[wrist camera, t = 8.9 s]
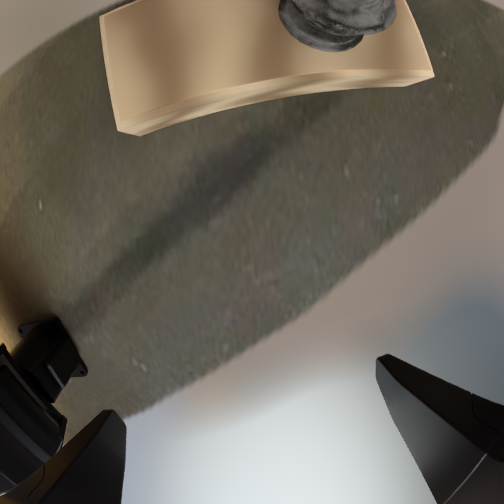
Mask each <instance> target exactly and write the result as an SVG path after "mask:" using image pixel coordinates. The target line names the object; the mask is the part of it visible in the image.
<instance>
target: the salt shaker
mask: <svg viewBox="0 0 504 504" xmlns="http://www.w3.org/2000/svg"><path fill="white" fill-rule="evenodd" d="M278 11H279V18H280V20H281V22H282V24H283V26H284V27H285V28H286V29H287V31H288V32H289V33H290V34H291V35H292V36H293V37H295V38H296V39H297V40H299V41H300V42H301V43H303V44H305V45H307V46H309V47H311V48H314V49H317V50H321V51H324V52H342V51H347V50H349V49H352V48H354V47H355V46H357V45H358V44H359V43H360V42H361V41H362V39H363V37H364V35H370V34H376V33H379V32H382V31H384V30H386V29H387V28H388V27H389V26H390V25H391V24H393V22H394V19H395V17H396V15H397V8H396V2H395V0H280V3H279V7H278Z"/></svg>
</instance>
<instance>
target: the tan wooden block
mask: <svg viewBox="0 0 504 504" xmlns="http://www.w3.org/2000/svg"><path fill="white" fill-rule="evenodd" d="M395 2H396V8H397V15H396V17H395V19H394V22H393V24H391V25H390V26H389V27H388V28H387V29H386V30H384V31H382V32H379V33H376V34H370V35H364V37H363V39H362V41H361V42H360V43H359V44H358V45H357V46H355V47H354V48H352V49H349V50H347V51H342V52H324V51H321V50H317V49H314V48H311V47H309V46H307V45H305V44H303V43H301V42H300V41H299V40H297V39H296V38H295V37H293V36H292V35H291V34H290V33H289V32H288V31H287V29H286V28H285V27H284V26H283V24H282V22H281V20H280V18H279V11H278V7H279V3H280V0H137V1H134V2H132V3H129V4H127V5H124V6H122V7H119V8H117V9H115V10H112V11H110V12H108V13H106V14H104V15H101V16H99V19H100V29H101V38H102V46H103V53H104V60H105V67H106V73H107V79H108V85H109V91H110V96H111V101H112V106H113V111H114V116H115V121H116V125H117V130H118V131H120V132H124V133H128V134H132V135H136V136H142V135H145V134H147V133H150V132H153V131H156V130H159V129H162V128H165V127H168V126H171V125H174V124H177V123H180V122H183V121H187V120H190V119H193V118H197V117H200V116H204V115H207V114H211V113H215V112H219V111H223V110H227V109H231V108H235V107H239V106H244V105H248V104H253V103H257V102H262V101H267V100H273V99H278V98H284V97H290V96H296V95H303V94H310V93H317V92H325V91H334V90H345V89H357V88H373V87H405V86H408V85H411V84H414V83H417V82H420V81H423V80H426V79H429V78H432V77H435V76H434V73H433V69H432V66H431V63H430V60H429V57H428V54H427V51H426V49H425V46H424V43H423V40H422V38H421V35H420V33H419V30H418V28H417V25H416V23H415V21H414V18H413V16H412V14H411V12H410V9H409V7H408V5H407V3H406V1H405V0H395Z"/></svg>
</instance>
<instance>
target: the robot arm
mask: <svg viewBox="0 0 504 504" xmlns="http://www.w3.org/2000/svg"><path fill="white" fill-rule="evenodd" d="M55 323H56V324H55ZM18 332H19V334H20V335H21V337H22V340H21V341H20V342H19V343H18V344H17V345H16V346H15V347H14V348H13V350H12V351H11V352H10V353H9V352H8V350H7V349H6V346H5V345H4V343H2V344H0V494H2V493H6V494H4V495H2V496H0V504H121V499H122V488H123V480H124V471H125V460H126V459H125V458H126V457H125V456H126V425H125V423H124V422H123V420H122V419H121V418H120V417H119V415H118V414H117V413H116V411H114V410H103V411H102V412H101V413H99V414H98V415H97V416H96V417H95V418H94V419H93V420H92V421H91V422H90V423H89V424H87V425H86V426H85V427H84V428H83V429H82V430H81V431H80V432H79V433H78V434H77V435H75V436H74V437H73V438H72V439H71V440H70V441H69V442H68V443H67V444H66V445H64V446H63V440H64V434H65V429H66V424H67V418H66V417H65V416H64V415H61V414H60V413H59V412H58V411H57V409H56V408H55V407H54V406H53V405H52V403H55V401H56V399H57V397H58V396H59V394H60V392H61V391H62V389H63V388H65V386H66V384H67V383H68V381H69V380H70V378H71V377H83V376H86V375H87V373H88V370H87V368H86V367H85V365H84V364H83V362H82V360H81V359H80V357H79V355H78V354H77V352H76V350H75V348H74V347H73V345H72V343H71V341H70V340H69V338H68V336H67V334H66V332H65V330H64V328H63V327H62V325H61V323H60V321H59V320H58V319H57V318H51V319H46V320H41V321H37V322H32V323H27V324H22V325H20V326H19V327H18ZM376 380H377V383H378V385H379V388H380V390H381V392H382V395H383V397H384V400H385V402H386V405H387V407H388V410H389V412H390V415H391V417H392V419H393V421H394V423H395V425H396V426H397V428H398V430H399V432H400V434H401V436H402V437H403V439H404V441H405V443H406V445H407V447H408V448H409V450H410V452H411V454H412V456H413V458H414V459H415V461H416V463H417V465H418V467H419V469H420V471H421V473H422V475H423V477H424V479H425V481H426V482H427V484H428V486H429V488H430V490H431V492H432V494H433V496H434V498H435V500H436V502H437V504H504V405H501V404H498V403H495V402H492V401H490V400H487V399H485V398H483V397H480V396H478V395H476V394H473V393H472V394H471V392H469V391H466V390H464V389H462V388H460V387H458V386H456V385H454V384H451V383H449V382H447V381H445V380H443V379H441V378H438V377H436V376H434V375H432V374H430V373H428V372H426V371H424V370H421V369H419V368H417V367H415V366H413V365H411V364H409V363H407V362H405V361H403V360H401V359H399V358H397V357H394V356H392V355H390V354H385V355H383V356H380V357H378V358H377V359H376ZM62 446H63V447H62Z"/></svg>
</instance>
